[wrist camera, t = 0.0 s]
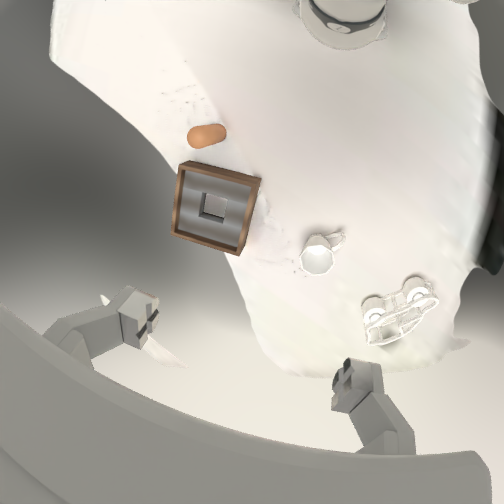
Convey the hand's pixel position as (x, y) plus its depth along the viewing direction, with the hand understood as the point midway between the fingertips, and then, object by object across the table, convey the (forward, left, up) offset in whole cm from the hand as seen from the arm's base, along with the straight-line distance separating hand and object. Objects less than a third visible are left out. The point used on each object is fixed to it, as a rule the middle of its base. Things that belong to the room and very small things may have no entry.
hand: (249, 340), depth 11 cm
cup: (+15, +9, -47) cm, 50 cm away
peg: (-1, -18, -47) cm, 50 cm away
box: (+14, -15, -47) cm, 51 cm away
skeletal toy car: (+25, +32, -48) cm, 62 cm away
